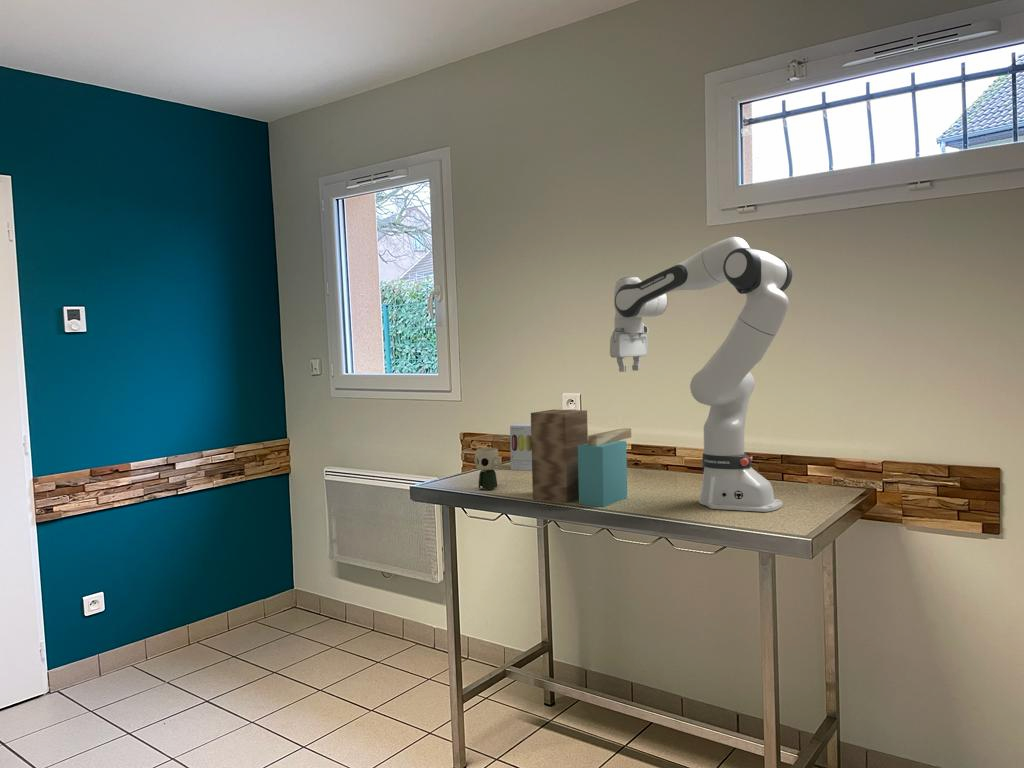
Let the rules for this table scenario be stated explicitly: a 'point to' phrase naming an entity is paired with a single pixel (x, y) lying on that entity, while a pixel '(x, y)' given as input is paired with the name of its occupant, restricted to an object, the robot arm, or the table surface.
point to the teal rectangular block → (602, 473)
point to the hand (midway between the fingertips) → (629, 371)
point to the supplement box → (520, 446)
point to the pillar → (557, 453)
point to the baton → (609, 436)
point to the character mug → (487, 467)
